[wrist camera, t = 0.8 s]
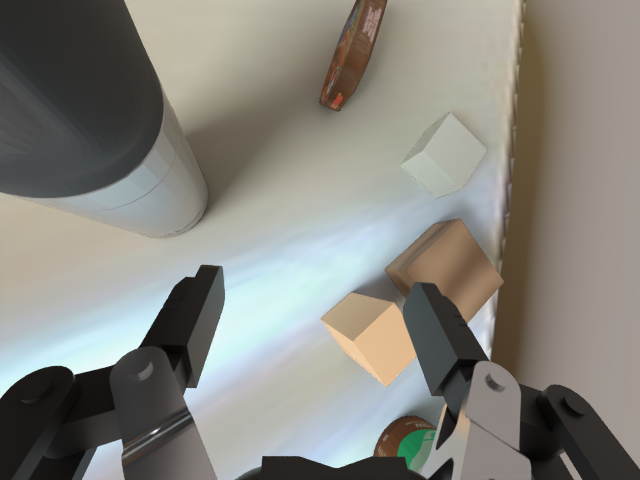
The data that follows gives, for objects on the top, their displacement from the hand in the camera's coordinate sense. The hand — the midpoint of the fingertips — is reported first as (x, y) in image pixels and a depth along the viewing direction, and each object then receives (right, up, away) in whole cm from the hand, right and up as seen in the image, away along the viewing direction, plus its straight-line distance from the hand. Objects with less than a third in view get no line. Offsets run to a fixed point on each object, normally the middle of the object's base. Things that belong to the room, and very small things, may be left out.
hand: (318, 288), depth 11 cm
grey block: (+16, +13, +27) cm, 34 cm away
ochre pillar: (+3, -8, +22) cm, 23 cm away
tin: (+3, +24, +25) cm, 35 cm away
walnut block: (+15, -3, +26) cm, 30 cm away
